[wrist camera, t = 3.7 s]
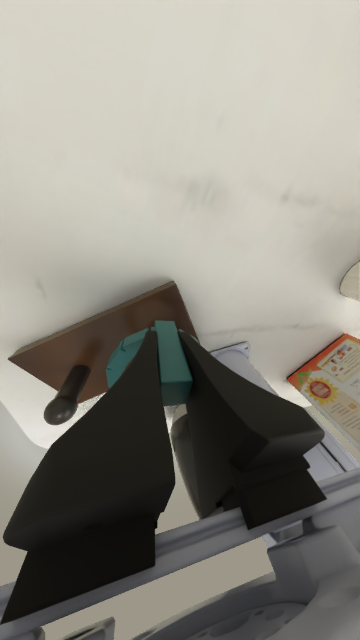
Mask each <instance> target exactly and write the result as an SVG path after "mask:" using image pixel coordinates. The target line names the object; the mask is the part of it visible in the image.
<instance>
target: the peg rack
mask: <svg viewBox="0 0 360 640" xmlns="http://www.w3.org/2000/svg"><path fill="white" fill-rule="evenodd" d="M155 321H174V323H175V326H176V328H177V330H178V329H181V330H183V331H185V332H187V333H188V334H190V335H191V336H193V337H195V338H196V339H197V341H199V340H198V337H197V335H196V332H195V330H194V327H193V325H192V322H191V320H190V317H189V315H188V312H187V310H186V307H185V305H184V302H183V300H182V297H181V295H180V293H179V290H178V288H177V285H176V283H175V282H174V281H172V282H169V283H167V284H165V285H163V286H160V287H158V288H156V289H154V290H151V291H149V292H147V293H145V294H142V295H140V296H138V297H136V298H134V299H131V300H129V301H127V302H125V303H122V304H120V305H118V306H116V307H113V308H111V309H109V310H107V311H104V312H102V313H100V314H98V315H95V316H93V317H91V318H89V319H86V320H84V321H82V322H80V323H77V324H75V325H73V326H71V327H68V328H66V329H64V330H62V331H59V332H57V333H55V334H53V335H51V336H48V337H46V338H44V339H42V340H39V341H37V342H35V343H33V344H30V345H28V346H26V347H24V348H21V349H19V350H18V351H16V352H15V353H14V354H13V355H12V356H10V357H9V358H8V360H9V361H11V362H12V363H14V364H16V365H17V366H19V367H20V368H22V369H23V370H25V371H27V372H28V373H30V374H31V375H33V376H35V377H36V378H38V379H39V380H41V381H43V382H44V383H46V384H47V385H49V386H51V387H52V388H54V389H55V390H57V391H58V393H57V395H56V396H55V398H54V399H53V400H52V401H51V402H50V403H49V404H48V405H47V407H46V408H45V411H44V419H45V421H46V422H47V423H48V424H51V425H60V424H63V423H65V422H66V421H68V420H69V419H71V418H72V416H73V415H74V414H75V412H76V410H77V407H78V404H79V403H82V402H84V401H86V400H88V399H91V398H93V397H95V396H98V395H100V394H102V393H105V392H107V391H108V390H109V389H110V387H108V382H107V374H106V368H107V365H108V362H109V359H110V356H111V355H112V353H113V352H114V350H115V349H116V348H117V346H118V345H119V344H120V342H121V341H122V340H124V339H125V338H126V337H128V336H130V335H132V334H135V333H137V332H139V331H142V330H144V329H146V328H149V330H150V331H151V327H155ZM199 343H200V342H199ZM133 358H134V357H133ZM133 358H132V359H131V361H132V360H133ZM131 361H130V362H129V363H128V365H129V364H130V363H131ZM128 365H127V366H126V367H125V370H126V368H127V367H128Z"/></svg>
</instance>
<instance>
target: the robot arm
mask: <svg viewBox="0 0 360 640" xmlns="http://www.w3.org/2000/svg"><path fill="white" fill-rule="evenodd" d="M178 336H179V339H180V342H181V345H182V348H183V351H184V354H185V357H186V360H187V363H188V366H189V370H190V373H191V376H192V379H193V383H192V386H191V389H190V393H189V396H188V400H187V403H186V404H185V405H186V410H187V416H188V422H189V429H190V435H191V442H192V449H193V456H194V463H195V472H196V480H197V488H198V497H199V505H200V510H201V515H202V520H199V521H196V522H193V523H190V524H187V525H184V526H181V527H178V528H175V529H172V530H169V531H165V532H162V533H159V534H156V535H155V529H156V528H157V520H158V518H159V515H160V513H161V512H164V510H165V508H166V506H167V503H168V501H169V498H170V496H171V494H172V491H173V489H174V486H175V472H174V464H173V455H172V448H171V443H170V439H169V433H168V428H167V423H166V417H165V412H164V407H163V400H162V394H161V388H160V381H159V373H158V365H157V347H158V334H157V331H146V333H145V337H144V339H143V342H142V344H141V346H140V348H139V350H138V351H137V353H136V355H135V356H134V358H133V360H132V361H131V363H130V364H129V365H128V367H127V368H126V370H125V371H124V372H123V374H122V375H121V376H120V377H119V378H118V380H117V381H116V382H115V383H114V384H113V386H112V387H111V388H110V389H109V390H108V391H107V392H106V393H105V394H104V395H103V396H102V397H101V398H100V399H99V401H98V402H97V403H96V404H95V405H94V406H93V407H92V408H91V409H90V410H89V411H88V412H87V413H86V414H85V415H84V416H82V417H81V418H80V419H79V420H78V421H77V422H76V423H75V424H74V425H73V426H72V427H70V428H69V429H68V430H67V431H66V432H65V433H64V434H63V435H62V436H61V437H60V438H58V439H57V440H56V441H55V442H54V443H53V444H52V445H51V447H50V448H49V450H48V451H47V453H46V454H45V456H44V458H43V459H42V461H41V462H40V464H39V466H38V468H37V469H36V471H35V473H34V474H33V476H32V477H31V479H30V481H29V483H28V485H27V487H26V488H25V491H24V493H23V495H22V497H21V499H20V501H19V503H18V505H17V507H16V509H15V511H14V513H13V515H12V517H11V519H10V522H9V523H8V525H7V527H6V530H5V532H4V535H3V539H4V542H5V543H6V544H8V545H9V546H13V547H16V548H19V549H22V550H25V551H28V552H27V555H26V557H25V560H24V563H23V565H22V568H21V570H20V573H19V575H18V578H17V581H15V582H12V583H9V584H6V585H3V586H0V640H45V632H44V630H43V629H42V627H40V626H43V625H45V624H48V623H50V622H53V621H55V620H58V619H60V618H63V617H65V616H68V615H70V614H72V613H75V612H77V611H80V610H82V609H85V608H87V607H90V606H92V605H94V604H97V603H99V602H102V601H104V600H106V599H109V598H112V597H114V596H116V595H119V594H121V593H124V592H126V591H129V590H131V589H134V588H136V587H138V586H141V585H143V584H146V583H148V582H151V581H153V580H155V579H158V578H160V577H163V576H165V575H168V574H170V573H173V572H175V571H178V570H180V569H182V568H185V567H187V566H190V565H192V564H195V563H197V562H200V561H202V560H204V559H207V558H209V557H212V556H214V555H217V554H219V553H221V552H224V551H227V550H229V549H231V548H234V547H236V546H239V545H241V544H244V543H246V542H248V541H251V540H253V539H256V538H258V537H261V536H262V538H263V539H264V541H265V542H266V544H267V546H268V549H267V554H268V556H269V559H270V562H271V564H272V567H273V569H274V571H273V572H271V573H269V574H266V575H264V576H261V577H259V578H257V579H254V580H252V581H250V582H247V583H245V584H243V585H240V586H238V587H235V588H233V589H231V590H229V591H226V592H224V593H221V594H219V595H217V596H215V597H212V598H210V599H208V600H206V601H203V602H201V603H199V604H197V605H195V606H193V607H191V608H189V609H187V610H185V611H182V612H180V613H178V614H176V615H174V616H173V617H171V618H169V619H167V620H165V621H163V622H161V623H159V624H157V625H156V626H154V627H152V628H150V629H148V630H146V631H145V632H143V633H141V634H139V635H137V636H135V637H134V638H132V639H130V640H360V464H359V463H358V462H357V461H356V460H355V459H354V457H353V456H352V455H351V454H350V453H349V452H348V451H347V450H346V449H345V448H344V447H343V445H342V444H341V443H340V442H339V441H338V440H337V439H336V438H335V437H334V436H333V435H332V434H331V433H330V432H329V431H328V430H327V428H326V427H325V426H324V425H323V424H322V423H321V422H320V421H319V420H318V419H317V418H316V417H315V416H314V415H312V413H311V412H309V411H308V410H307V409H305V408H303V407H301V406H299V405H296V404H294V403H292V402H290V401H288V400H285V399H283V398H281V397H279V396H278V394H277V393H276V392H275V391H274V390H273V389H272V387H271V386H270V385H269V384H268V383H267V381H266V380H265V379H264V378H263V377H262V375H261V374H260V373H259V372H258V371H257V370H256V368H255V367H254V366H253V365H252V364H251V362H250V361H249V360H248V355H249V343H248V342H245V343H241V344H238V345H234V346H231V347H228V348H224V349H221V350H217V351H214V352H211V353H209V352H208V351H206V350H205V349H204V348H203V347H202V346H201V345H200V344H199V343H198V342H197V341H196V340H195V339H194V338H193V337H192V336H191V335H189V334H188V333H187V332H185V331H178ZM336 462H338V464H339V465H340V466H339V465H338V464H337V463H336ZM114 628H115V620H114V618H113V617H110V618H107V619H105V620H102V621H100V622H97V623H94V624H92V625H89V626H86V627H84V628H82V629H79V630H77V631H75V632H73V633H71V634H68V635H66V636H64V637H63V638H61V639H59V640H113V639H114Z"/></svg>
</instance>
